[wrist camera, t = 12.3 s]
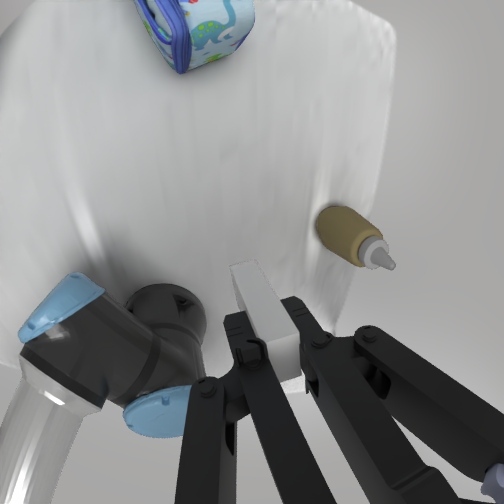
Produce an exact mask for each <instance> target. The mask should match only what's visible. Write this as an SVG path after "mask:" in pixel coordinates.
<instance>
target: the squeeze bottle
mask: <svg viewBox="0 0 504 504" xmlns="http://www.w3.org/2000/svg"><path fill="white" fill-rule="evenodd" d="M316 227H317V230H318V233H319V236H320V239H321V242H322V244H323V245H324V246H325V247H326V248H327V249H329V250H330V251H332V252H334V253H335V254H337V255H339V256H340V257H342V258H343V259H345V260H347V261H348V262H350V263H351V264H353V265H355V266H358V267H367V268H369V269H377V268H378V267H380V266H381V267H384V268H386V269H389V270H393V269H394V268H395V266H396V264H395V262H394V261H393V260H392V259H391V257H390V256H389V255H388V253H389V247H388V244H387V242H386V241H384V240H383V235H382V234H381V232H380V231H379V229H377V228H376V227H375V226H374V225H372V224H371V223H370V222H369V221H367V220H366V219H365V218H364V217H362V216H361V215H360V214H358V213H357V212H356V211H354V210H353V209H351V208H349V207H347V206H345V207H329V208H327V209H325V210H323V212H322V213H321V214H320V215H319V217H318V219H317V226H316Z"/></svg>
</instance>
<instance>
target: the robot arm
mask: <svg viewBox="0 0 504 504" xmlns="http://www.w3.org/2000/svg"><path fill="white" fill-rule="evenodd" d="M230 271H231V275H232V280H233V285H234V289H235V294H236V299H237V303H238V306H239V309H240V312H237V313H233V314H230V315H226V316H225V319H224V322H223V324H224V328H225V331H226V335H227V338H228V342H229V346H230V349H231V352H232V356H233V359H234V364H233V367H232V369H231V370H230V371H229V372H228V373H227V374H225V375H224V376H222V377H220V378H219V379H218V378H216V377H209V376H208V377H206V373H205V368H204V363H203V357H202V352H201V344H202V341H203V338H204V335H205V331H206V317H205V312H204V309H203V306H202V304H201V303H200V301H199V300H198V298H197V297H196V296H195V295H193V294H192V293H191V292H189V291H188V290H186V289H184V288H182V287H179V286H176V285H171V284H155V285H150V286H147V287H145V288H142V289H141V290H139V291H137V292H136V293H135V294H134V295H133V296H132V297H131V298H130V299H129V301H128V303H127V305H126V308H125V307H123V306H122V305H121V304H120V303H119V302H117V301H116V300H115V299H114V298H113V297H112V296H110V295H109V294H108V293H107V292H106V290H105V289H104V288H101V287H99V286H98V285H97V284H95V283H94V282H93V281H92V280H90V279H89V278H88V277H87V276H85V275H84V274H82V273H79V272H73V273H70V274H68V275H67V276H66V277H65V278H64V279H63V280H61V282H60V283H59V284H58V285H57V286H56V287H55V288H54V289H53V290H52V291H51V292H50V293H49V294H48V295H47V297H46V298H45V299H44V300H43V301H42V302H41V303H40V304H39V306H38V307H37V308H36V309H35V310H34V312H33V313H32V314H31V315H30V316H29V318H28V319H27V320H26V322H25V323H24V325H23V326H22V327H21V328H20V330H19V331H18V337H19V339H20V341H21V342H22V343H23V344H24V343H25V345H24V347H23V349H22V351H21V352H20V354H19V356H18V357H19V361H20V365H21V369H22V379H21V381H20V383H19V385H18V387H17V389H16V391H15V394H14V396H13V398H12V400H11V403H10V405H9V407H8V410H7V412H6V414H5V417H4V419H3V422H2V425H1V427H0V504H51V501H52V498H53V495H54V492H55V489H56V486H57V483H58V480H59V477H60V474H61V472H62V469H63V467H64V464H65V461H66V459H67V456H68V453H69V451H70V449H71V446H72V444H73V441H74V439H75V436H76V434H77V432H78V429H79V427H80V424H81V422H82V420H83V418H84V417H85V416H86V415H88V414H92V413H96V412H99V411H101V409H102V407H103V405H104V402H105V400H106V399H108V400H110V401H111V402H113V403H115V404H117V405H119V406H120V407H122V408H123V409H124V411H123V418H124V419H125V422H126V424H127V426H128V427H129V428H130V429H131V430H132V431H134V432H136V433H138V434H140V435H143V436H147V437H152V438H172V437H179V436H183V440H182V447H181V455H180V462H179V470H178V478H177V486H176V494H175V503H174V504H236V463H237V460H236V459H237V421H238V420H240V419H242V418H243V417H245V416H247V415H248V414H250V413H251V416H252V419H253V422H254V425H255V428H256V431H257V434H258V437H259V439H260V443H261V446H262V448H263V451H264V454H265V457H266V460H267V463H268V465H269V468H270V471H271V473H272V476H273V479H274V481H275V484H276V487H277V489H278V492H279V495H280V497H281V500H282V502H283V504H337V503H336V501H335V499H334V497H333V495H332V493H331V491H330V489H329V487H328V485H327V483H326V481H325V479H324V477H323V475H322V473H321V471H320V468H319V466H318V464H317V462H316V460H315V458H314V456H313V454H312V452H311V450H310V448H309V445H308V443H307V441H306V439H305V437H304V435H303V433H302V430H301V429H300V426H299V424H298V422H297V420H296V417H295V416H294V413H293V411H292V409H291V407H290V405H289V402H288V400H287V398H286V396H285V393H284V391H283V389H282V387H281V384H280V382H283V381H286V380H289V379H292V378H295V377H298V376H301V375H302V373H301V369H302V371H303V372H304V374H305V388H306V394H308V393H309V391H310V392H311V394H312V396H313V398H314V400H315V402H316V404H317V406H318V408H319V409H320V411H321V413H322V415H323V417H324V419H325V421H326V423H327V425H328V426H329V428H330V430H331V432H332V434H333V436H334V438H335V439H336V441H337V443H338V445H339V447H340V449H341V451H342V452H343V454H344V456H345V458H346V460H347V462H348V463H349V465H350V467H351V469H352V471H353V473H354V475H355V477H356V478H357V480H358V482H359V484H360V486H361V487H362V489H363V491H364V493H365V495H366V497H367V498H368V500H369V502H370V504H504V414H503V413H501V412H500V411H498V410H497V409H496V408H494V407H493V406H491V405H490V404H489V403H487V402H486V401H484V400H483V399H481V398H480V397H478V396H477V395H476V394H474V393H473V392H471V391H470V390H468V389H467V388H466V387H464V386H463V385H461V384H460V383H458V382H457V381H456V380H454V379H453V378H451V377H450V376H448V375H447V374H445V373H444V372H443V371H441V370H440V369H438V368H437V367H435V366H434V365H432V364H431V363H429V362H428V361H427V360H425V359H423V358H422V357H421V356H419V355H418V354H416V353H415V352H413V351H412V350H411V349H409V348H407V347H406V346H405V345H403V344H402V343H400V342H399V341H397V340H396V339H395V338H393V337H392V336H390V335H389V334H387V333H386V332H384V331H383V330H381V329H380V328H378V327H375V326H371V325H368V326H362V327H360V328H358V329H357V330H356V331H355V334H354V336H350V337H334V336H333V335H332V334H331V333H329V332H326V331H324V330H323V329H322V328H321V326H320V325H319V324H318V322H317V321H316V319H315V318H314V317H313V315H312V314H311V313H310V311H309V310H308V308H307V307H306V305H305V304H304V303H303V301H302V300H301V299H299V298H297V297H295V296H292V297H289V298H285V299H282V300H279V298H278V296H277V295H276V293H275V291H274V290H273V288H272V286H271V285H270V283H269V281H268V280H267V278H266V277H265V275H264V273H263V272H262V270H261V268H260V267H259V265H258V263H257V262H256V260H251V261H247V262H243V263H239V264H235V265H231V266H230ZM392 416H393V417H394V418H395V419H396V420H397V421H398V422H400V423H401V424H402V425H403V426H404V427H406V428H407V429H408V430H409V431H410V432H412V433H413V434H414V435H415V436H416V437H418V438H419V439H420V440H421V441H422V442H424V443H425V444H426V445H427V446H428V447H430V448H431V449H432V450H433V451H435V452H436V453H437V454H438V455H440V456H441V457H442V458H443V459H445V460H446V461H447V462H448V463H450V464H451V465H452V466H453V467H455V468H456V469H457V470H458V471H460V472H461V473H463V474H464V475H466V476H467V477H469V478H471V479H473V480H476V481H479V482H482V483H483V485H482V486H481V493H482V494H483V495H489V496H491V497H492V498H493V499H494V500H495V502H496V503H487V502H480V501H473V500H468V499H462V498H458V496H457V495H456V493H455V492H454V490H453V489H452V487H451V486H450V485H449V483H448V482H447V480H446V479H445V477H444V476H443V474H442V473H441V472H440V471H439V470H438V469H436V468H435V467H430V466H427V465H426V464H425V463H424V462H423V461H422V460H421V458H420V457H419V455H418V454H417V452H416V451H415V449H414V448H413V446H412V445H411V443H410V442H409V441H408V439H407V438H406V436H405V435H404V433H403V432H402V431H401V429H400V428H399V426H398V425H397V423H396V422H395V421H394V419H393V418H392Z"/></svg>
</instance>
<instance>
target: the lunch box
mask: <svg viewBox="0 0 504 504" xmlns="http://www.w3.org/2000/svg"><path fill="white" fill-rule="evenodd" d="M134 2H135V4H136V7H137V10H138V13H139V15H140V16H141V18H142V21H143V23H144V25H145V27H146V28H147V30H148V32H149V34H150V36H151V37H152V39H153V41H154V43H155V44H156V46H157V47H158V49H159V50H160V52H161V53H162V55H163V56H164V58H165V59H166V61H167V62H168V63H169V65H170V66H171V67H172V68H173V69H175V70H176V71H177V73H179V74H181V73H182V74H183V73H185V72H186V69H187V70H189V69H193V68H196V67H198V66H200V65H203V64H206V63H208V62H211V61H214V60H217V59H219V58H221V57H224V56H227V55H229V54H232V53H233V52H234V51H235V50H236V49H237V48H238V47H239V46H240V45H241V44H242V42H243V41H244V40H245V38H246V37H247V35H248V34H249V33H250V31H251V29H252V28H253V26H254V22H255V9H254V4H253V0H134Z"/></svg>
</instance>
